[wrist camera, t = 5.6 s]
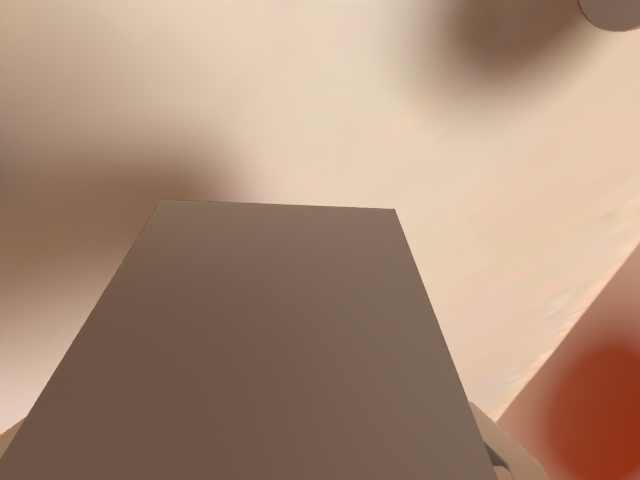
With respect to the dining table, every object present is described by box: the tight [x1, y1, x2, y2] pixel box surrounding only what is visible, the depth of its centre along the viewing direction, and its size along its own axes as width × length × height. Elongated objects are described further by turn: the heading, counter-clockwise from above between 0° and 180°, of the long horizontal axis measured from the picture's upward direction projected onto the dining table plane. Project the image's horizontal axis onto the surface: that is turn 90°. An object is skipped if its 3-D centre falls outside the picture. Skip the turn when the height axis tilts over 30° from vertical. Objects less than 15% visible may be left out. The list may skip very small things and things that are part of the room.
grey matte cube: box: [0, 199, 498, 480], centre depth 11 cm, size 7×7×9 cm
